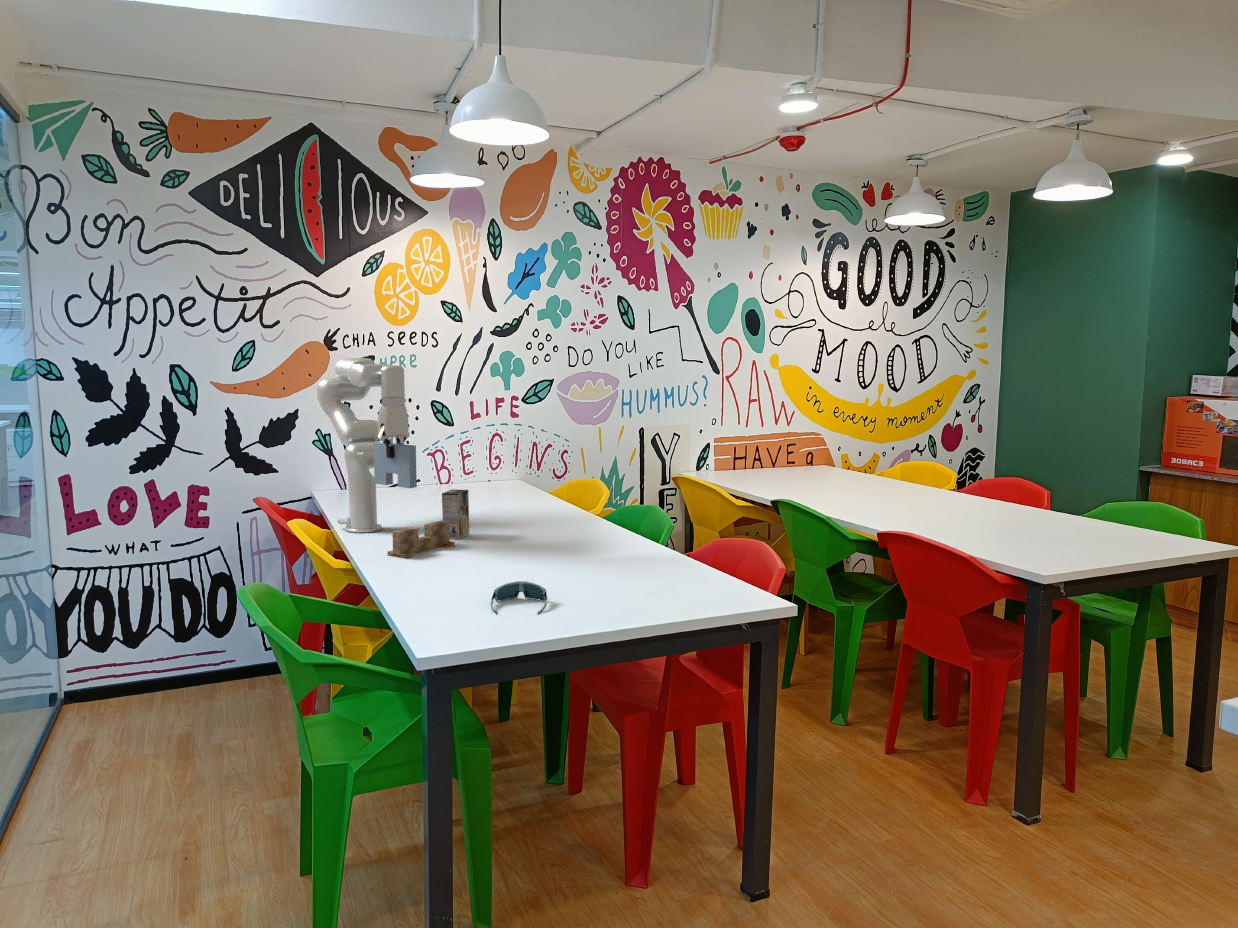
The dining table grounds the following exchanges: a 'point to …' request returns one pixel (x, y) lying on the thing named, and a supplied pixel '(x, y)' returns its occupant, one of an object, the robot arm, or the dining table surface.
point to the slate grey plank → (395, 465)
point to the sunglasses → (520, 586)
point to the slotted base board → (420, 539)
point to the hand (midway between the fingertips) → (394, 456)
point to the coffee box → (456, 512)
